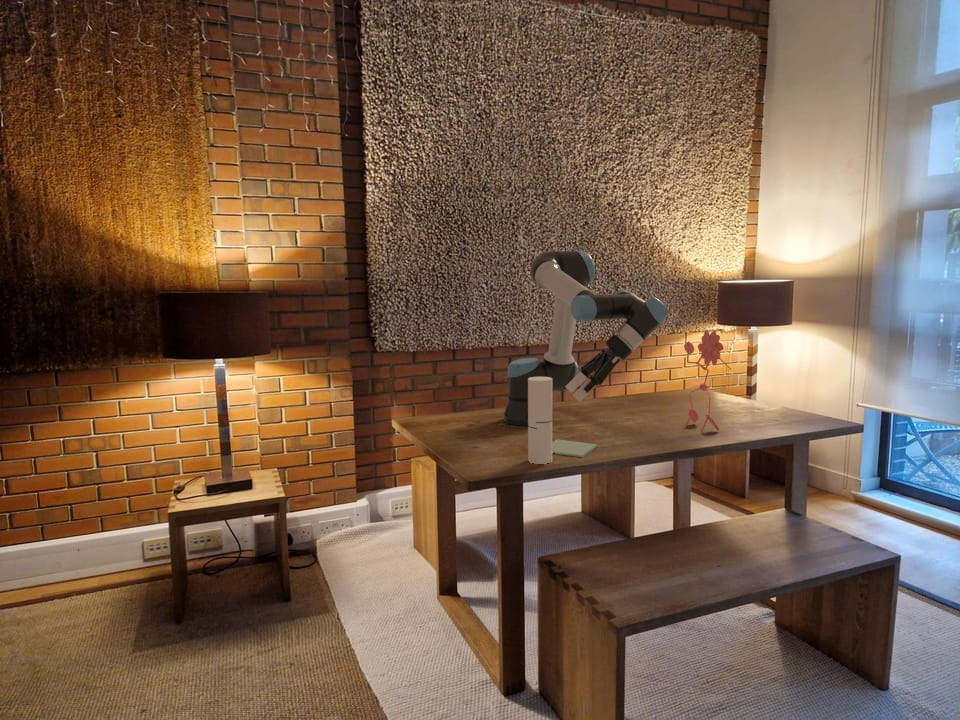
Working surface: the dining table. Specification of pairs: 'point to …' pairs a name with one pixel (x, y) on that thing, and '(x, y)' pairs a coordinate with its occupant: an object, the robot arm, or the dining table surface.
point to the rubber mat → (572, 448)
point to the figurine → (709, 353)
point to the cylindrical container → (540, 420)
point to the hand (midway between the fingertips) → (572, 394)
